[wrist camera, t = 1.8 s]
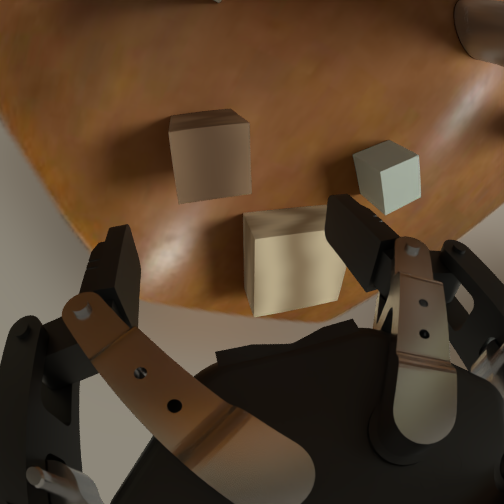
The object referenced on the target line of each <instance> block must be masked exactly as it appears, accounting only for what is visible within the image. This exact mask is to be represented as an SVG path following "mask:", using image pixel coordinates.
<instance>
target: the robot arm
mask: <svg viewBox="0 0 504 504" xmlns="http://www.w3.org/2000/svg"><path fill="white" fill-rule="evenodd" d="M454 18H455V25H456V30H457V33H458V36H459V39H460V41H461V43H462V45H463V47H464V49H465V50H466V51H467V53H468V54H469V55H470V56H471V57H473V58H475V59H477V60H481V61H485V62H489V63H493V64H497V65H500V66H503V67H504V1H496V0H459V1H458V2H457V4H456V6H455V14H454ZM324 231H325V237H326V240H327V242H328V243H329V244H330V246H331V247H332V248H333V249H334V251H335V252H336V253H337V254H338V256H339V257H340V258H341V260H342V261H343V262H344V264H345V265H346V266H347V267H348V269H349V270H350V271H351V273H352V274H353V275H354V277H355V278H356V279H357V281H358V282H359V283H360V285H361V286H362V287H363V289H364V290H365V291H366V292H369V291H373V290H376V289H378V290H379V293H378V296H377V302H376V310H375V317H374V324H373V329H370V328H358V327H357V325H356V323H355V322H354V320H353V319H350V320H347V321H344V322H340V323H336V324H333V325H330V326H326V327H323V328H321V329H319V330H317V331H315V332H313V333H312V334H310V335H308V336H306V337H304V338H302V339H300V340H298V341H297V342H294V343H291V344H268V345H267V344H262V345H261V344H260V345H257V344H256V345H248V346H243V347H238V348H233V349H228V350H222V351H217V352H215V353H216V358H217V363H215V364H212V365H210V366H209V367H207V368H205V369H203V370H202V371H200V372H199V373H198V374H196V375H195V376H194V377H193V376H192V375H190V374H189V373H188V372H187V371H186V370H184V369H183V368H182V367H181V366H180V365H179V364H177V363H176V362H175V361H174V360H173V359H172V358H170V357H169V356H168V355H167V354H166V353H164V351H162V350H161V349H160V348H159V347H158V346H157V345H156V344H155V343H154V342H153V341H151V340H150V339H149V338H148V337H147V336H146V335H145V334H144V333H143V332H142V331H141V330H140V329H138V312H139V293H140V278H141V267H140V261H139V257H138V253H137V250H136V247H135V243H134V240H133V236H132V233H131V229H130V227H129V225H128V224H126V225H121V226H116V227H111V228H109V231H108V234H107V237H106V240H105V242H100V243H98V245H97V246H96V247H95V248H94V249H93V251H92V252H91V255H90V258H89V262H88V265H87V270H86V271H85V275H84V278H83V281H82V285H81V288H80V292H79V294H78V295H76V296H74V297H73V298H71V299H70V300H69V301H68V302H67V303H66V305H65V306H64V308H63V311H62V317H60V318H58V319H55V320H53V321H51V322H48V323H46V324H44V325H42V323H41V322H40V320H39V319H38V318H37V317H35V316H31V315H30V316H25V317H23V318H21V319H19V320H18V321H17V322H16V323H15V324H14V325H13V326H12V327H11V329H10V331H9V334H8V337H7V340H6V345H5V348H4V352H3V356H2V360H1V364H0V504H104V503H103V501H102V500H101V498H100V496H99V493H98V489H97V487H96V485H95V483H94V482H93V480H92V479H91V478H90V477H88V476H87V475H86V474H84V473H82V462H81V450H80V433H79V432H80V431H79V386H80V381H81V380H83V379H86V378H88V377H90V376H93V375H95V374H98V373H100V375H101V376H102V377H103V379H104V380H105V381H106V382H107V384H108V385H109V386H110V387H111V389H112V390H113V391H114V392H115V394H116V395H117V396H118V397H119V398H120V400H121V401H122V402H123V403H124V404H125V405H126V406H127V408H128V409H129V410H130V411H131V412H132V413H133V414H134V415H135V416H136V418H137V419H138V420H139V421H140V422H141V423H142V424H143V425H144V426H145V427H146V428H147V429H148V430H149V431H150V432H151V433H152V434H153V437H152V438H151V440H150V441H149V443H148V444H147V446H146V448H145V449H144V451H143V452H142V454H141V456H140V457H139V459H138V460H137V462H136V463H135V465H134V467H133V468H132V470H131V471H130V473H129V474H128V476H127V477H126V479H125V480H124V482H123V484H122V485H121V487H120V488H119V490H118V491H117V493H116V495H115V496H114V498H113V499H112V501H111V503H110V504H504V284H503V283H502V282H501V281H500V280H499V279H498V278H497V277H496V276H495V274H493V272H492V271H491V270H490V269H489V268H488V267H487V266H486V265H485V264H484V263H483V262H482V261H481V260H480V259H479V258H478V257H477V256H476V255H475V254H474V253H473V252H472V251H471V250H470V249H469V248H468V247H467V246H466V245H464V244H463V243H461V242H458V241H455V240H446V241H445V242H444V244H443V247H442V249H441V251H430V250H429V249H428V247H427V246H426V245H425V244H424V243H423V242H421V241H420V240H418V239H415V238H412V237H406V236H404V237H400V236H399V235H398V234H396V233H395V232H394V231H393V230H392V229H391V228H390V227H389V226H388V225H387V224H386V223H385V222H382V220H381V219H380V218H379V217H377V215H376V214H375V213H373V212H372V211H371V210H370V209H368V208H366V207H364V206H362V205H360V204H359V203H358V202H357V201H355V200H354V199H353V198H352V197H351V196H350V195H348V194H339V195H331V196H330V197H329V198H328V203H327V211H326V220H325V228H324ZM460 284H462V285H463V286H464V287H465V288H466V290H467V291H468V292H469V293H470V294H471V296H472V297H473V300H474V308H473V310H472V312H471V313H470V315H469V314H468V312H467V311H466V310H465V309H464V307H463V306H462V305H461V304H460V302H459V301H458V300H457V298H456V297H455V294H456V292H457V290H458V288H459V286H460ZM449 341H450V343H451V344H452V346H453V347H454V349H455V350H456V352H457V353H458V355H459V356H460V358H461V359H462V361H463V363H464V364H465V366H466V367H467V369H468V371H467V370H465V369H463V368H460V367H458V366H456V365H454V364H452V363H451V362H450V347H449Z"/></svg>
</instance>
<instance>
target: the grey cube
mask: <svg viewBox="0 0 504 504" xmlns="http://www.w3.org/2000/svg"><path fill="white" fill-rule="evenodd" d="M353 159H354V164H355V169H356V174H357V179H358V184H359V189H360V194H361V195H362V196H363V197H365V198H366V199H367V200H368V201H369V202H371V203H372V204H373V205H374V206H375V207H376V208H378V209H379V210H380V211H381V212H382V213H383V214H385V215H387V214H389V213H391V212H393V211H395V210H397V209H399V208H401V207H403V206H404V205H406V204H408V203H410V202H412V201H414V200H416V199H418V198H420V197H421V185H420V166H419V155H417V154H416V153H414V152H412V151H410V150H408V149H406V148H404V147H402V146H400V145H398V144H396V143H394V142H392V141H390V140H388V141H385V142H383V143H380V144H377V145H375V146H372V147H370V148H367V149H365V150H362V151H360V152H358V153H355V154H353Z"/></svg>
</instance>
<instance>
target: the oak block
mask: <svg viewBox="0 0 504 504" xmlns="http://www.w3.org/2000/svg"><path fill="white" fill-rule="evenodd" d="M326 211H327V205H319V206H308V207H297V208H287V209H277V210H267V211H258V212H249V213H243V243H244V289H245V292H246V295H247V298H248V301H249V304H250V307H251V310H252V313H253V316H254V317H259V316H264V315H270V314H275V313H280V312H285V311H290V310H295V309H300V308H305V307H309V306H314V305H319V304H323V303H328V302H332V301H337V300H338V296H339V292H340V289H341V285H342V281H343V278H344V274H345V270H346V265H345V264H344V262H343V261H342V260H341V258H340V257H339V256H338V254H337V253H336V252H335V251H334V249H333V248H332V247H331V246H330V244H329V243H328V242H327V240H326V237H325V231H324V228H325V220H326Z"/></svg>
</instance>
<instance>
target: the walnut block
mask: <svg viewBox="0 0 504 504" xmlns="http://www.w3.org/2000/svg"><path fill="white" fill-rule="evenodd" d="M168 133H169V141H170V149H171V156H172V163H173V170H174V177H175V184H176V190H177V197H178V203H179V204H185V203H191V202H197V201H204V200H211V199H217V198H224V197H232V196H239V195H247V194H252V190H251V158H250V126H249V122H248V121H246V120H245V119H244V118H242V117H241V116H240V115H238V114H237V113H236V112H234V111H233V110H232V109H222V110H212V111H203V112H195V113H187V114H180V115H173V116H171V119H170V125H169V132H168Z"/></svg>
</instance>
